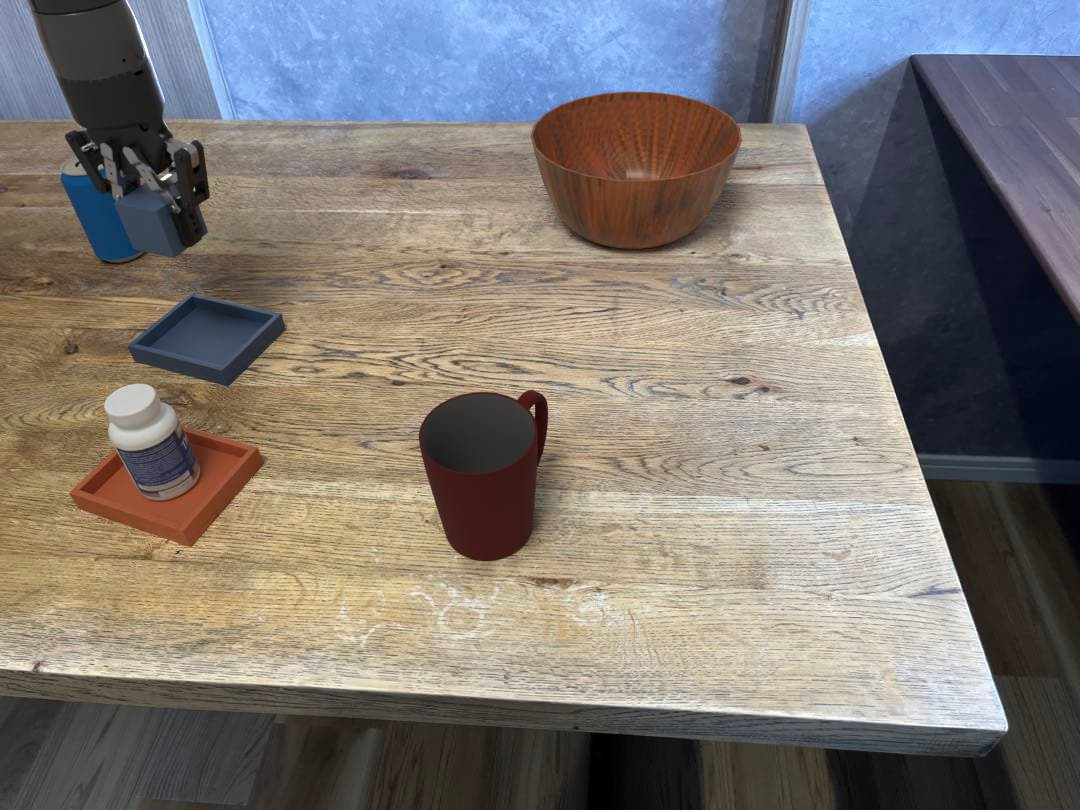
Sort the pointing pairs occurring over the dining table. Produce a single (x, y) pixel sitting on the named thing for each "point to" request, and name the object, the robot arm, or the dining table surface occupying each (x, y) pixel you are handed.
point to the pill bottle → (151, 442)
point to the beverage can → (97, 214)
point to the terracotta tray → (180, 516)
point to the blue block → (151, 222)
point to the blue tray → (207, 338)
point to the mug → (485, 469)
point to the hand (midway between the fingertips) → (170, 237)
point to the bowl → (635, 165)
